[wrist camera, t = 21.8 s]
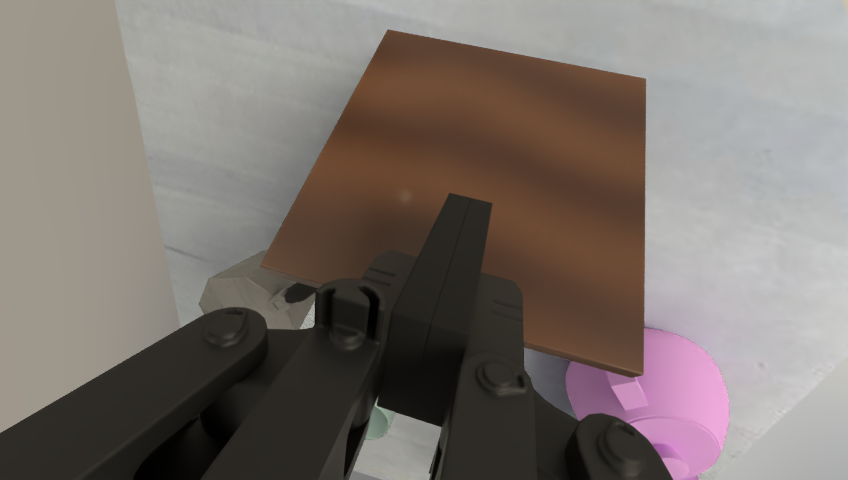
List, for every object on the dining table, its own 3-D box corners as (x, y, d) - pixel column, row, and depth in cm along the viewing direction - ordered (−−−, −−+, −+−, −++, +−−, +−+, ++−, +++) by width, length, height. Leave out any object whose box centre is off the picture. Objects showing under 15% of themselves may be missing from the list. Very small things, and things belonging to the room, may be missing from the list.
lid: (632, 378, 13) (644, 375, 12) (266, 274, 14) (258, 266, 14) (638, 91, 19) (646, 78, 19) (388, 42, 21) (387, 29, 20)
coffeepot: (311, 289, 49) (216, 400, 34) (265, 233, 47) (139, 325, 31) (401, 243, 43) (334, 355, 27) (353, 175, 40) (249, 256, 25)
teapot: (528, 325, 44) (531, 411, 34) (669, 275, 37) (727, 362, 27) (607, 442, 50) (630, 546, 39) (741, 417, 43) (812, 534, 33)
